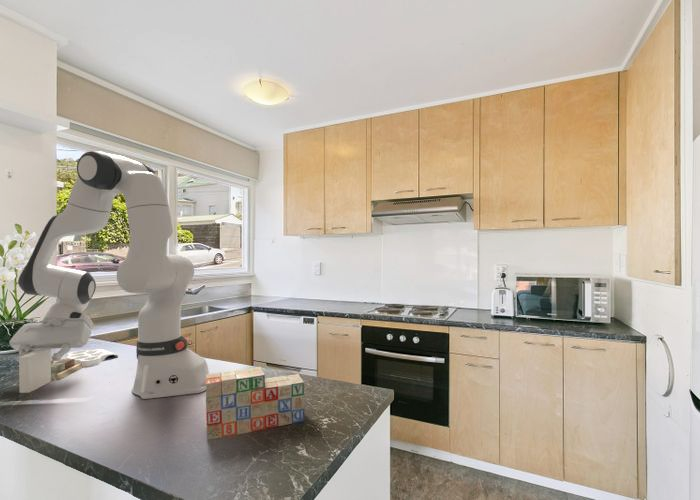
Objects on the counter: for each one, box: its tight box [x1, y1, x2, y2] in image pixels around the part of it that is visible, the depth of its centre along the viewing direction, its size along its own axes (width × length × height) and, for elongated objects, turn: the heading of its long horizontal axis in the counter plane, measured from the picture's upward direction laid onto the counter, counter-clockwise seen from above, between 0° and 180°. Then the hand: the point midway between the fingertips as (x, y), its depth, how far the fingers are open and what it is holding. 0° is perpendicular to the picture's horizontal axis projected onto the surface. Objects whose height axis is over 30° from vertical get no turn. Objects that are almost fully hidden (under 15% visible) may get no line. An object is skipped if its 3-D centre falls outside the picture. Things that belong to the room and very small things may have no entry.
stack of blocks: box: [205, 366, 306, 441], centre depth 81 cm, size 21×6×12 cm, turn 111°
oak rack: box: [51, 358, 83, 381], centre depth 113 cm, size 10×10×4 cm
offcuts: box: [51, 358, 75, 380], centre depth 113 cm, size 8×4×4 cm, turn 5°
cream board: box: [18, 349, 52, 394], centre depth 102 cm, size 8×2×11 cm, turn 5°
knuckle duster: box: [66, 348, 119, 368], centre depth 127 cm, size 3×18×15 cm
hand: (37, 360), depth 103 cm, fingers open, 8 cm apart
